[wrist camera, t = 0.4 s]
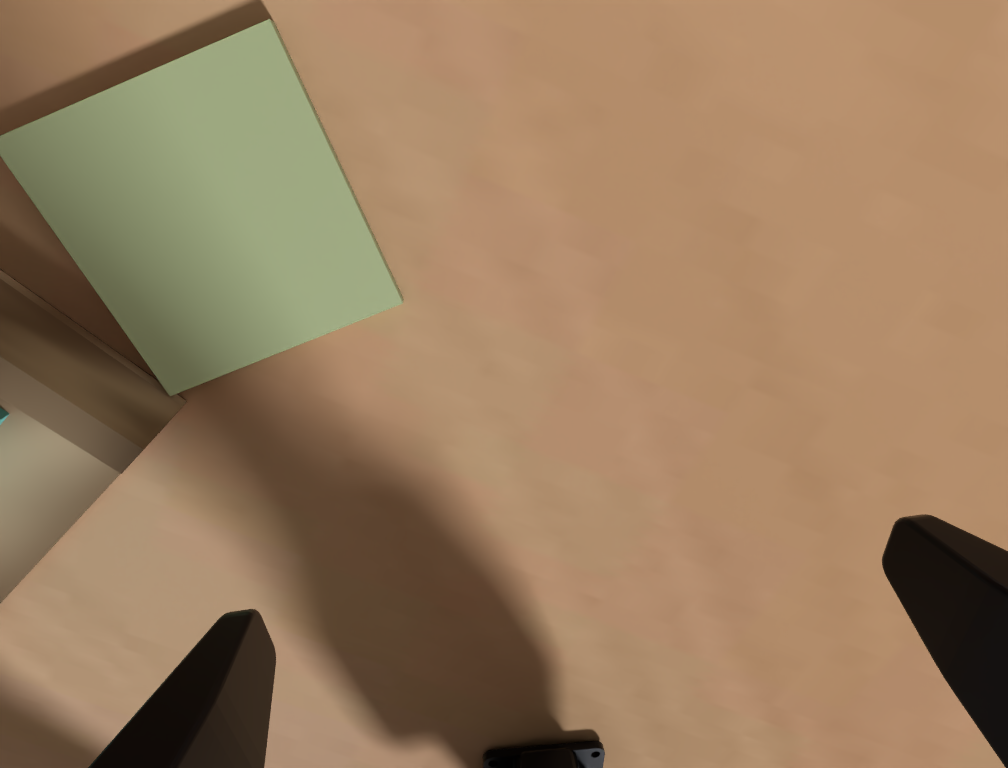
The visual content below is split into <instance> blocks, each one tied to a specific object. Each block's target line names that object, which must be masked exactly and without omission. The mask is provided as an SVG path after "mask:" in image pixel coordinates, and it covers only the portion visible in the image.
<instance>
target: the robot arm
mask: <svg viewBox="0 0 1008 768" xmlns="http://www.w3.org/2000/svg"><path fill="white" fill-rule="evenodd" d="M882 565H883V569H884V572H885V575H886V577H887V579H888V580H889V582H890V584H891V586H892V587H893V589H894V591H895V593H896V594H897V596H898V598H899V600H900V602H901V603H902V605H903V607H904V609H905V610H906V612H907V614H908V616H909V617H910V619H911V621H912V623H913V625H914V626H915V628H916V630H917V632H918V633H919V635H920V637H921V639H922V641H923V642H924V644H925V646H926V648H927V649H928V651H929V653H930V655H931V656H932V658H933V660H934V662H935V663H936V665H937V667H938V668H939V670H940V672H941V673H942V675H943V677H944V678H945V680H946V681H947V683H948V684H949V686H950V687H951V689H952V690H953V692H954V693H955V695H956V696H957V698H958V699H959V701H960V702H961V704H962V705H963V706H964V708H965V709H966V711H967V712H968V714H969V715H970V717H971V718H972V719H973V721H974V722H975V724H976V725H977V727H978V728H979V730H980V731H981V732H982V734H983V735H984V737H985V738H986V740H987V741H988V743H989V744H990V746H991V747H992V748H993V750H994V751H995V753H996V754H997V756H998V757H999V759H1000V760H1001V761H1002V763H1003V764H1004V766H1005V767H1006V768H1008V551H1006V550H1004V549H1002V548H1000V547H998V546H996V545H993V544H991V543H989V542H987V541H985V540H983V539H981V538H979V537H977V536H974V535H972V534H970V533H968V532H966V531H964V530H962V529H960V528H958V527H956V526H953V525H951V524H949V523H947V522H945V521H943V520H941V519H939V518H936V517H934V516H931V515H915V516H908V517H902V518H899V519H898V520H897V521H896V522H895V524H894V525H893V528H892V531H891V534H890V537H889V539H888V542H887V545H886V548H885V551H884V554H883V557H882ZM275 666H276V653H275V648H274V645H273V642H272V640H271V638H270V635H269V633H268V631H267V628H266V626H265V624H264V621H263V619H262V617H261V615H260V613H259V612H258V611H257V610H255V609H248V610H241V611H234V612H229V613H226V614H224V615H223V616H222V617H220V618H219V619H218V620H217V622H216V623H215V624H214V625H213V626H212V627H211V628H210V630H209V631H208V632H207V633H206V634H205V635H204V636H203V638H202V639H201V640H200V641H199V642H198V643H197V644H196V646H195V647H194V648H193V649H192V650H191V651H190V652H189V653H188V655H187V656H186V657H185V658H184V659H183V660H182V661H181V663H180V664H179V665H178V666H177V667H176V668H175V669H174V671H173V672H172V673H171V674H170V675H169V676H168V677H167V679H166V680H165V681H164V682H163V683H162V684H161V685H160V687H159V688H158V689H157V690H156V691H155V692H154V693H153V695H152V696H151V697H150V698H149V699H148V700H147V701H146V702H145V704H144V705H143V706H142V707H141V708H140V709H139V710H138V712H137V713H136V714H135V715H134V716H133V717H132V718H131V720H130V721H129V722H128V723H127V724H126V725H125V726H124V728H123V729H122V730H121V731H120V732H119V733H118V734H117V736H116V737H115V738H114V739H113V740H112V741H111V742H110V744H109V745H108V746H107V747H106V748H105V749H104V750H103V751H102V753H101V754H100V755H99V756H98V757H97V758H96V759H95V761H94V762H93V763H92V764H91V765H90V766H89V767H88V768H264V764H265V756H266V747H267V738H268V729H269V720H270V711H271V702H272V693H273V684H274V675H275ZM604 755H605V752H604V748H603V744H602V743H601V742H599V741H590V742H578V743H567V744H555V745H543V746H532V747H520V748H508V749H497V750H490V751H487V752H486V753H485V754H484V756H483V768H603V762H604Z"/></svg>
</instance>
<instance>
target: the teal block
mask: <svg viewBox="0 0 1008 768" xmlns="http://www.w3.org/2000/svg"><path fill="white" fill-rule="evenodd" d="M9 414H10V413H8V412H6V411H5V410H3V409H2V408H0V425H1V424H2V422H3V421H4V420H5V419H6V418H7V416H8V415H9Z"/></svg>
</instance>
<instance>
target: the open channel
mask: <svg viewBox="0 0 1008 768" xmlns="http://www.w3.org/2000/svg"><path fill="white" fill-rule="evenodd" d="M186 402H187V401H186V400H184V399H183V398H181V397H180V396H179V395H177V394H175V395H172V396H169V394H168V393H167V391H166V390H165V389H164V387H163V386H162V384H161V383H160V382H159V381H157V380H156V379H154V378H153V377H152V376H150V375H149V374H147V373H146V372H144V371H143V370H142V369H140V368H139V367H137V366H136V365H135V364H133V363H132V362H130V361H129V360H127V359H126V358H125V357H123V356H122V355H120V354H119V353H118V352H116V351H115V350H113V349H112V348H110V347H109V346H108V345H106V344H105V343H103V342H102V341H101V340H99V339H98V338H96V337H95V336H93V335H92V334H91V333H89V332H88V331H86V330H85V329H84V328H82V327H81V326H79V325H78V324H76V323H75V322H74V321H72V320H71V319H69V318H68V317H67V316H65V315H64V314H62V313H61V312H59V311H58V310H57V309H55V308H54V307H52V306H51V305H50V304H48V303H47V302H45V301H44V300H42V299H41V298H40V297H38V296H37V295H35V294H34V293H32V292H31V291H30V290H28V289H27V288H25V287H24V286H23V285H21V284H20V283H18V282H17V281H15V280H14V279H13V278H11V277H10V276H8V275H7V274H6V273H4V272H3V271H1V270H0V408H2V409H3V410H5V411H6V412H8V413H10V414H9V415H8V416H7V418H6V419H5V420H4V421H3V422H2V424H1V425H0V603H1V602H2V601H3V600H4V599H5V598H6V597H7V595H8V594H9V593H10V592H11V591H12V590H13V589H14V588H15V587H16V586H17V585H18V584H19V583H20V581H21V580H22V579H23V578H24V577H25V576H26V575H27V574H28V573H29V572H30V571H31V570H32V568H33V567H34V566H35V565H36V564H37V563H38V562H39V561H40V560H41V559H42V558H43V557H44V556H45V554H46V553H47V552H48V551H49V550H50V549H51V548H52V547H53V546H54V545H55V544H56V543H57V541H58V540H59V539H60V538H61V537H62V536H63V535H64V534H65V533H66V532H67V531H68V530H69V528H70V527H71V526H72V525H73V524H74V523H75V522H76V521H77V520H78V519H79V518H80V517H81V516H82V514H83V513H84V512H85V511H86V510H87V509H88V508H89V507H90V506H91V505H92V504H93V503H94V501H95V500H96V499H97V498H98V497H99V496H100V495H101V494H102V493H103V492H104V491H105V490H106V489H107V487H108V486H109V485H110V484H111V483H112V482H113V481H114V480H115V479H116V478H117V477H118V476H119V474H120V473H121V474H122V472H123V471H124V470H125V469H126V468H127V467H128V466H129V465H130V464H131V463H132V462H133V461H134V460H135V458H136V457H137V456H138V455H139V454H140V453H141V452H142V451H143V450H144V449H145V448H146V446H147V445H148V444H149V443H150V442H151V441H152V440H153V439H154V438H155V436H156V435H157V434H158V433H159V432H160V431H161V430H162V429H163V428H164V426H165V425H166V424H167V423H168V422H169V421H170V420H171V419H172V418H173V416H174V415H175V414H176V413H177V412H178V411H179V410H180V409H181V408H182V406H183V405H184V404H185V403H186Z"/></svg>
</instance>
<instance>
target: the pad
mask: <svg viewBox="0 0 1008 768" xmlns="http://www.w3.org/2000/svg"><path fill="white" fill-rule="evenodd" d="M0 156H1V158H2V159H3V160H4V162H5V163H6V165H7V166H8V167H9V169H10V170H11V172H12V173H13V175H14V176H15V177H16V179H17V180H18V182H19V183H20V184H21V186H22V187H23V189H24V190H25V192H26V193H27V194H28V196H29V197H30V199H31V200H32V201H33V203H34V204H35V206H36V207H37V209H38V210H39V211H40V213H41V214H42V216H43V217H44V218H45V220H46V221H47V223H48V224H49V226H50V227H51V228H52V230H53V231H54V233H55V234H56V236H57V237H58V238H59V240H60V241H61V243H62V244H63V245H64V247H65V248H66V250H67V251H68V253H69V254H70V255H71V257H72V258H73V260H74V261H75V262H76V264H77V265H78V267H79V268H80V270H81V271H82V272H83V274H84V275H85V277H86V278H87V279H88V281H89V282H90V284H91V285H92V287H93V288H94V289H95V291H96V292H97V294H98V295H99V296H100V298H101V299H102V301H103V302H104V304H105V305H106V306H107V308H108V309H109V311H110V312H111V313H112V315H113V316H114V318H115V319H116V321H117V322H118V323H119V325H120V326H121V328H122V329H123V330H124V332H125V333H126V335H127V336H128V338H129V339H130V340H131V342H132V343H133V345H134V346H135V347H136V349H137V350H138V352H139V353H140V355H141V356H142V357H143V359H144V360H145V362H146V363H147V365H148V366H149V367H150V369H151V370H152V372H153V373H154V374H155V376H156V377H157V379H158V380H159V382H160V383H161V384H162V386H163V387H164V389H165V390H166V391H167V393H168V394H169V396H172V395H175V394H177V393H180V392H182V391H185V390H187V389H190V388H192V387H195V386H197V385H200V384H202V383H205V382H207V381H210V380H212V379H215V378H217V377H220V376H222V375H225V374H227V373H230V372H232V371H235V370H237V369H240V368H242V367H245V366H247V365H250V364H252V363H255V362H257V361H260V360H262V359H265V358H267V357H270V356H272V355H275V354H277V353H280V352H282V351H285V350H287V349H290V348H292V347H295V346H297V345H300V344H302V343H305V342H307V341H310V340H312V339H315V338H317V337H320V336H322V335H325V334H327V333H330V332H332V331H335V330H337V329H340V328H342V327H345V326H347V325H350V324H352V323H355V322H357V321H360V320H362V319H365V318H367V317H370V316H372V315H375V314H377V313H380V312H382V311H385V310H387V309H390V308H392V307H395V306H397V305H400V304H402V303H403V300H404V299H403V297H402V295H401V293H400V290H399V288H398V286H397V284H396V282H395V280H394V278H393V275H392V273H391V271H390V269H389V267H388V265H387V263H386V260H385V258H384V256H383V254H382V252H381V250H380V248H379V245H378V243H377V241H376V239H375V237H374V235H373V233H372V231H371V228H370V226H369V224H368V222H367V220H366V218H365V216H364V213H363V211H362V209H361V207H360V205H359V203H358V201H357V198H356V196H355V194H354V192H353V190H352V188H351V186H350V183H349V181H348V179H347V177H346V175H345V173H344V171H343V168H342V166H341V164H340V162H339V160H338V158H337V156H336V154H335V151H334V149H333V147H332V145H331V143H330V141H329V139H328V136H327V134H326V132H325V130H324V128H323V126H322V124H321V121H320V119H319V117H318V115H317V113H316V111H315V109H314V106H313V104H312V102H311V100H310V98H309V96H308V94H307V91H306V89H305V87H304V85H303V83H302V81H301V79H300V77H299V74H298V72H297V70H296V68H295V66H294V64H293V62H292V59H291V57H290V55H289V53H288V51H287V49H286V47H285V44H284V42H283V40H282V38H281V36H280V34H279V32H278V29H277V27H276V25H275V23H274V21H272V20H270V19H268V20H266V21H263V22H261V23H259V24H256V25H254V26H252V27H250V28H247V29H245V30H243V31H240V32H238V33H236V34H233V35H231V36H229V37H227V38H224V39H222V40H220V41H217V42H215V43H213V44H210V45H208V46H206V47H203V48H201V49H199V50H197V51H194V52H192V53H190V54H187V55H185V56H183V57H180V58H178V59H176V60H174V61H171V62H169V63H167V64H164V65H162V66H160V67H157V68H155V69H153V70H151V71H148V72H146V73H144V74H141V75H139V76H137V77H134V78H132V79H130V80H127V81H125V82H123V83H121V84H118V85H116V86H114V87H111V88H109V89H107V90H104V91H102V92H100V93H98V94H95V95H93V96H91V97H88V98H86V99H84V100H81V101H79V102H77V103H74V104H72V105H70V106H68V107H65V108H63V109H61V110H58V111H56V112H54V113H51V114H49V115H47V116H45V117H42V118H40V119H38V120H35V121H33V122H31V123H28V124H26V125H24V126H21V127H19V128H17V129H15V130H12V131H10V132H8V133H5V134H3V135H1V136H0Z"/></svg>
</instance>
